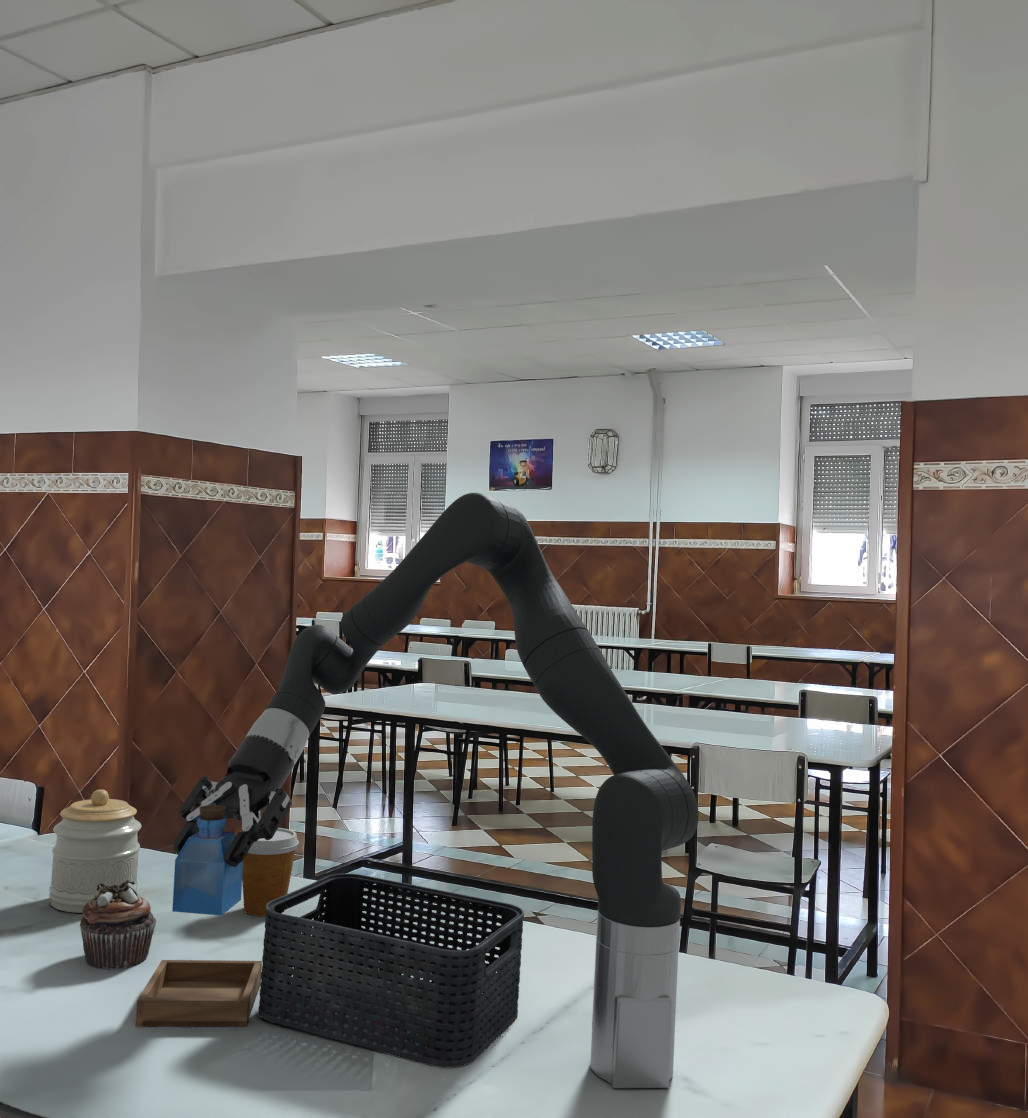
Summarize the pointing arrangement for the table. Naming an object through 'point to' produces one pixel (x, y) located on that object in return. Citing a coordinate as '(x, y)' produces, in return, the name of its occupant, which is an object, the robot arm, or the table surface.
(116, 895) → the cupcake
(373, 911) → the storage bin
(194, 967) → the tray
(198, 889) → the perfume bottle
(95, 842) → the jar
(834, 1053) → the table surface
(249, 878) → the disposable coffee cup
